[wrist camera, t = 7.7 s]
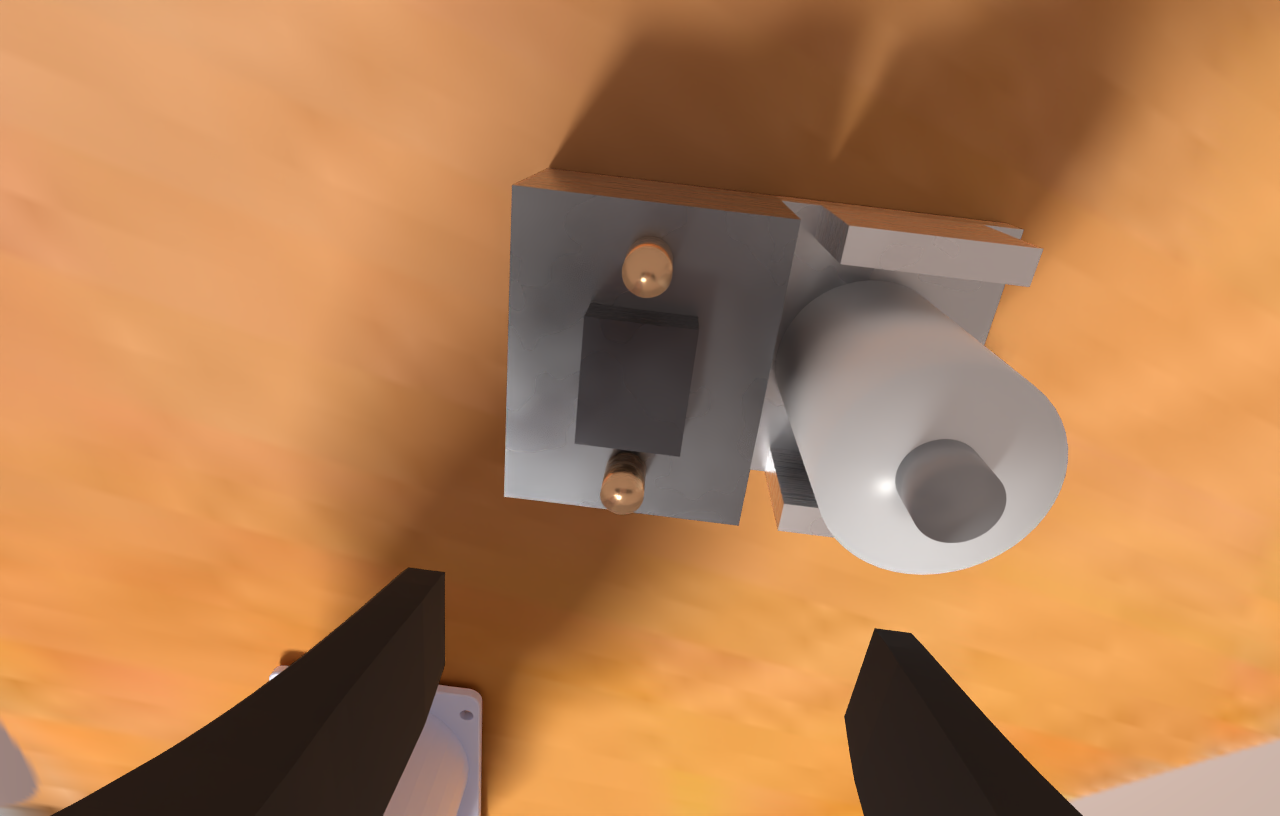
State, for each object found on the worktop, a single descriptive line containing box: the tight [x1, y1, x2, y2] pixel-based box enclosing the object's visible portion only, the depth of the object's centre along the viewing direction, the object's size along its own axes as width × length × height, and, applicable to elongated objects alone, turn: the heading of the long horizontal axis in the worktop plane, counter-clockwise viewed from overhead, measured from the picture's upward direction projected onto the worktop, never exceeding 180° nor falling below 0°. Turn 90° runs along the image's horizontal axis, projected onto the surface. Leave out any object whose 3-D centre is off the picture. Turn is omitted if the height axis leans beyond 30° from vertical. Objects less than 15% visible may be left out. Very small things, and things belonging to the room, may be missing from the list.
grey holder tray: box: [504, 168, 1043, 537], centre depth 17 cm, size 8×12×5 cm, turn 84°
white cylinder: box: [776, 280, 1068, 575], centre depth 15 cm, size 5×5×7 cm
